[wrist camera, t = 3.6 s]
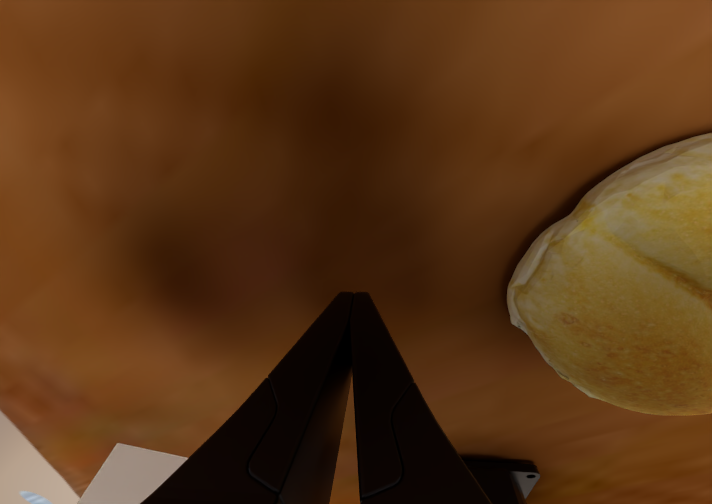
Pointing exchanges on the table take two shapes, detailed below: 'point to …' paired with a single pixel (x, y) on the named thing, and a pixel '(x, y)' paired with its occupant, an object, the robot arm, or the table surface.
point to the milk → (130, 475)
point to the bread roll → (629, 285)
